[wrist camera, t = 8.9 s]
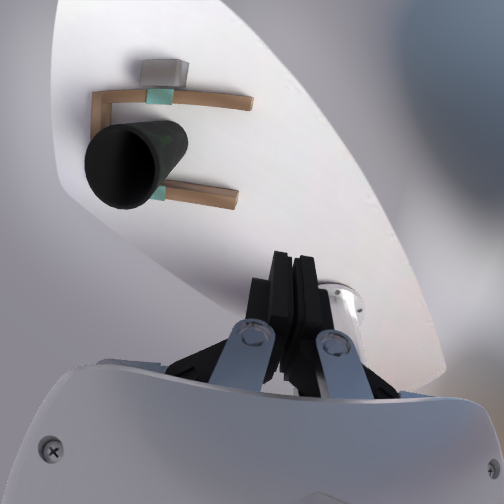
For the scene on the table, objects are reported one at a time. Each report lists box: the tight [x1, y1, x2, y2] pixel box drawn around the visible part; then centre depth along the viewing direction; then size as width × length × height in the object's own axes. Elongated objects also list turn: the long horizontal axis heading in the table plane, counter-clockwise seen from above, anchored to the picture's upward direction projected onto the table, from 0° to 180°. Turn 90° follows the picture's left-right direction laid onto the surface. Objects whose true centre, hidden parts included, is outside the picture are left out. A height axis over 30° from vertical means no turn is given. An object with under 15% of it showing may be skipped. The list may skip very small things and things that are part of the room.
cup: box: [85, 121, 188, 210], centre depth 26 cm, size 8×8×12 cm
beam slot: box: [91, 59, 254, 210], centre depth 29 cm, size 17×20×4 cm
